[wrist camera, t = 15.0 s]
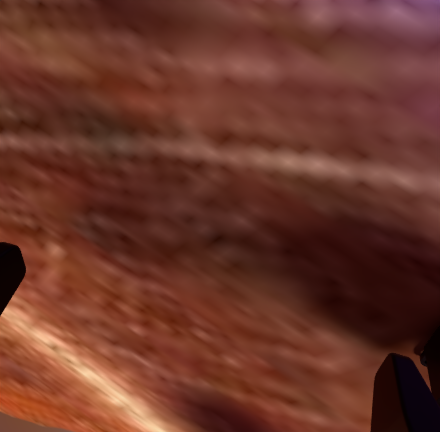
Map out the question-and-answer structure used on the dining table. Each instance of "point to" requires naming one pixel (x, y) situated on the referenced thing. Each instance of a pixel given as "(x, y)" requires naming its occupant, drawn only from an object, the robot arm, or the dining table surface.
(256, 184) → the dining table surface
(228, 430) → the dining table surface
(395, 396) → the robot arm
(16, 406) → the dining table surface
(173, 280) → the dining table surface
